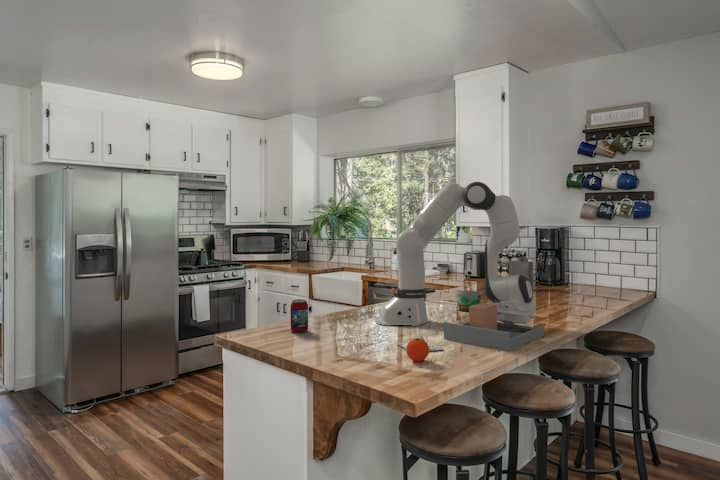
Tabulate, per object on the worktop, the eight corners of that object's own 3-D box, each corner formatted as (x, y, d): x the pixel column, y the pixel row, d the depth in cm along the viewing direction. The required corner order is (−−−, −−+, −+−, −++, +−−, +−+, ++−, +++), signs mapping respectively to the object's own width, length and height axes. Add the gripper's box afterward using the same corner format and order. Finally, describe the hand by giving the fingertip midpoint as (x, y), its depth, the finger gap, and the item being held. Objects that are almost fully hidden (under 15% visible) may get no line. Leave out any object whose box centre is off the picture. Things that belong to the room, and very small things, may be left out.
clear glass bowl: (410, 355, 157) (410, 340, 157) (396, 346, 168) (396, 332, 168) (444, 352, 160) (444, 338, 160) (428, 343, 172) (428, 330, 172)
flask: (534, 291, 291) (535, 257, 290) (529, 292, 288) (530, 258, 287) (512, 288, 303) (513, 256, 302) (507, 289, 299) (507, 256, 298)
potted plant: (453, 311, 227) (453, 290, 227) (455, 309, 233) (455, 288, 233) (480, 313, 223) (480, 291, 222) (482, 311, 228) (482, 290, 228)
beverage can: (294, 334, 184) (293, 302, 184) (288, 330, 190) (288, 299, 190) (310, 332, 187) (310, 301, 187) (304, 328, 193) (304, 298, 193)
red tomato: (409, 356, 154) (409, 333, 154) (431, 358, 152) (431, 335, 152) (404, 363, 147) (404, 340, 146) (427, 365, 145) (427, 341, 144)
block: (483, 329, 180) (483, 302, 179) (496, 332, 176) (497, 304, 176) (468, 334, 172) (469, 306, 172) (483, 336, 169) (483, 308, 168)
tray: (483, 325, 197) (483, 311, 197) (543, 335, 181) (544, 319, 180) (443, 338, 176) (443, 322, 176) (507, 351, 159) (507, 333, 159)
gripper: (536, 324, 180) (520, 330, 170) (486, 317, 194) (468, 322, 184) (536, 307, 180) (520, 312, 170) (486, 301, 194) (468, 305, 184)
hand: (493, 317), depth 177 cm, fingers closed
